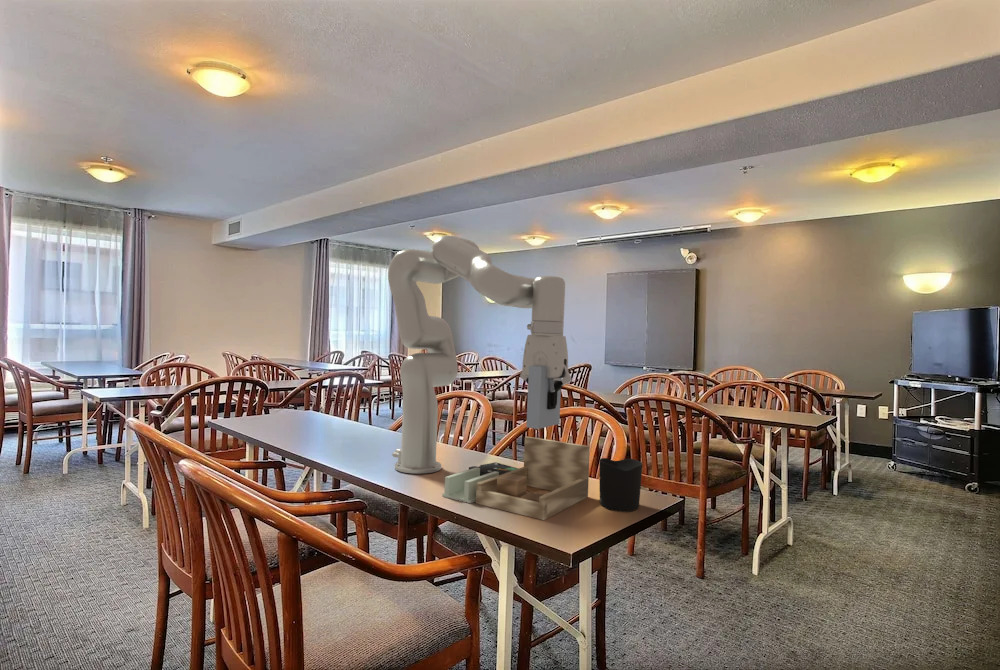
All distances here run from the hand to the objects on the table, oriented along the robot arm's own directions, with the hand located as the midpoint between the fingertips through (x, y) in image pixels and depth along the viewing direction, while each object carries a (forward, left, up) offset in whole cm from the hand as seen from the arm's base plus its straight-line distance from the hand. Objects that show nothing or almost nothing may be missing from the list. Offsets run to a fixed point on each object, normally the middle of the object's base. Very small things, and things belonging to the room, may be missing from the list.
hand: (544, 407), depth 130 cm
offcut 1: (-3, -9, -18) cm, 20 cm away
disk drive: (-16, +8, -22) cm, 28 cm away
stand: (-13, -9, -21) cm, 26 cm away
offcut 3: (+4, -9, -21) cm, 23 cm away
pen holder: (+17, +5, -21) cm, 28 cm away
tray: (0, -4, -21) cm, 21 cm away
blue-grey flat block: (0, 0, -4) cm, 4 cm away
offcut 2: (-3, -9, -21) cm, 23 cm away
